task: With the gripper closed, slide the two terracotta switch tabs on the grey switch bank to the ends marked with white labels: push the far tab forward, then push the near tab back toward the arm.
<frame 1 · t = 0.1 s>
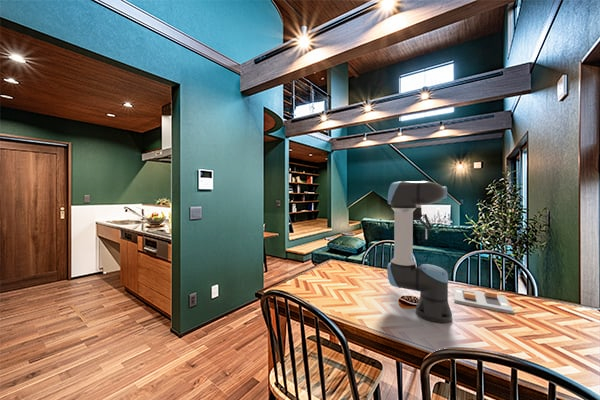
hand: (415, 237, 164), 28 cm above the table, fingers open, 13 cm apart
tab a: (469, 295, 130), point 3 cm above the table, slide at 0.0 cm
tab b: (490, 294, 131), point 3 cm above the table, slide at 0.0 cm
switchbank: (480, 300, 131), on the table
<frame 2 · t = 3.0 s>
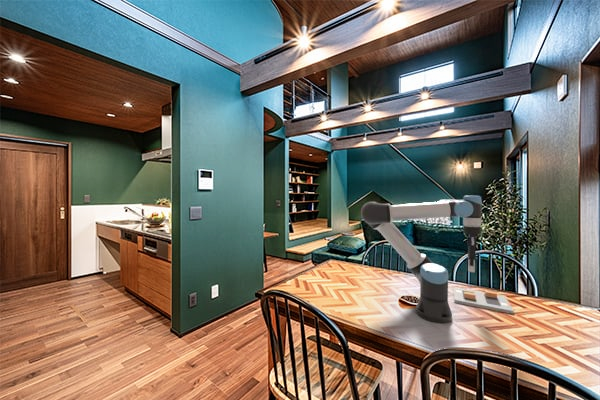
hand: (471, 271, 123), 18 cm above the table, fingers closed
nothing on the table moved.
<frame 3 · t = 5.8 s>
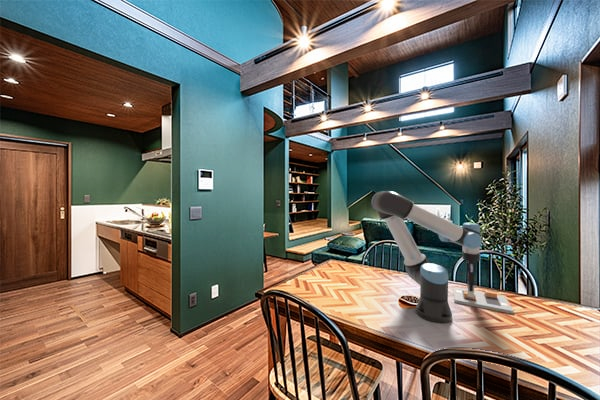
hand: (470, 296, 128), 3 cm above the table, fingers closed
tab a: (469, 295, 130), point 3 cm above the table, slide at 0.3 cm, touching gripper
everything else where it was.
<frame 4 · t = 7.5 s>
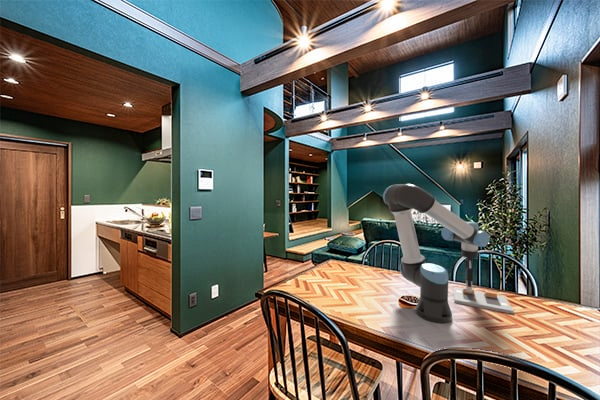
hand: (469, 291, 134), 3 cm above the table, fingers closed
tab a: (468, 290, 136), point 3 cm above the table, slide at 7.7 cm, touching gripper
everything else where it was.
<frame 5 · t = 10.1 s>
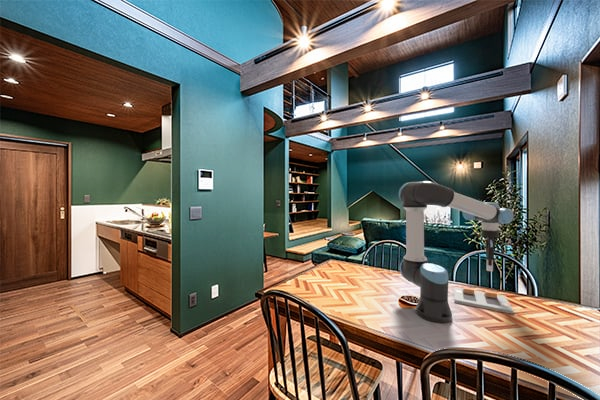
hand: (489, 270, 137), 14 cm above the table, fingers closed
tab a: (468, 290, 136), point 3 cm above the table, slide at 7.7 cm
everything else where it was.
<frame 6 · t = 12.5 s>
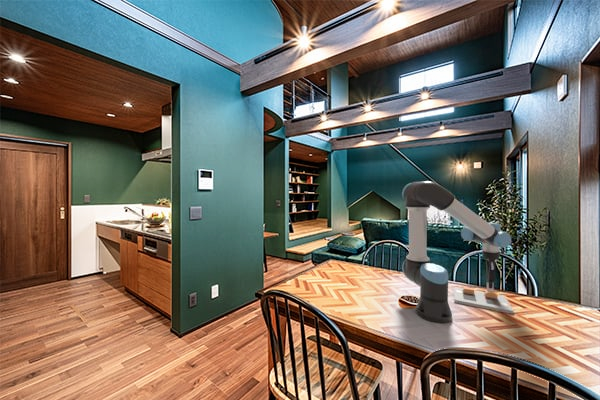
hand: (489, 293, 132), 3 cm above the table, fingers closed
tab b: (491, 294, 130), point 3 cm above the table, slide at 1.0 cm, touching gripper
everything else where it was.
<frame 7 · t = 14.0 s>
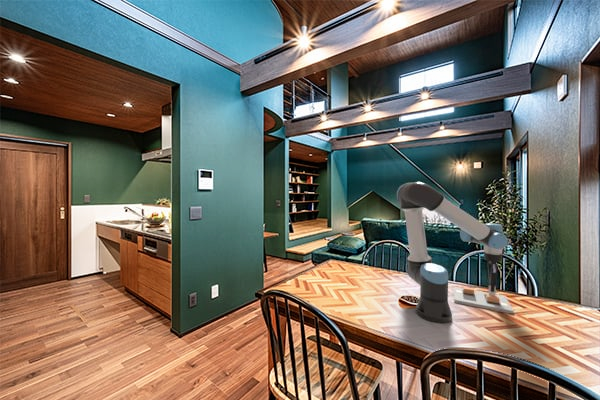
hand: (491, 296, 127), 3 cm above the table, fingers closed
tab b: (492, 298, 126), point 3 cm above the table, slide at 6.7 cm, touching gripper
everything else where it was.
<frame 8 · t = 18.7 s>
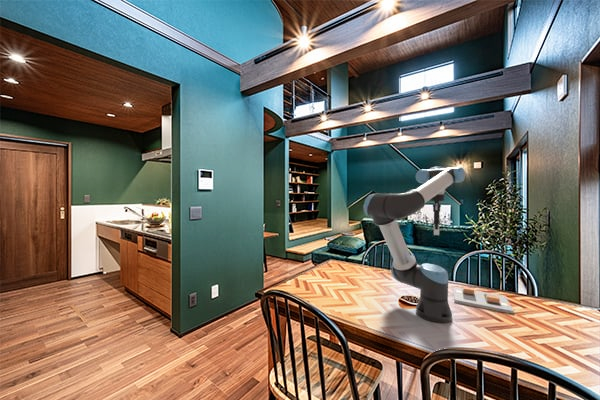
hand: (436, 234, 139), 34 cm above the table, fingers closed
tab b: (492, 299, 125), point 3 cm above the table, slide at 6.9 cm
everything else where it was.
at the end: tab a slide at 7.7 cm; tab b slide at 6.9 cm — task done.
